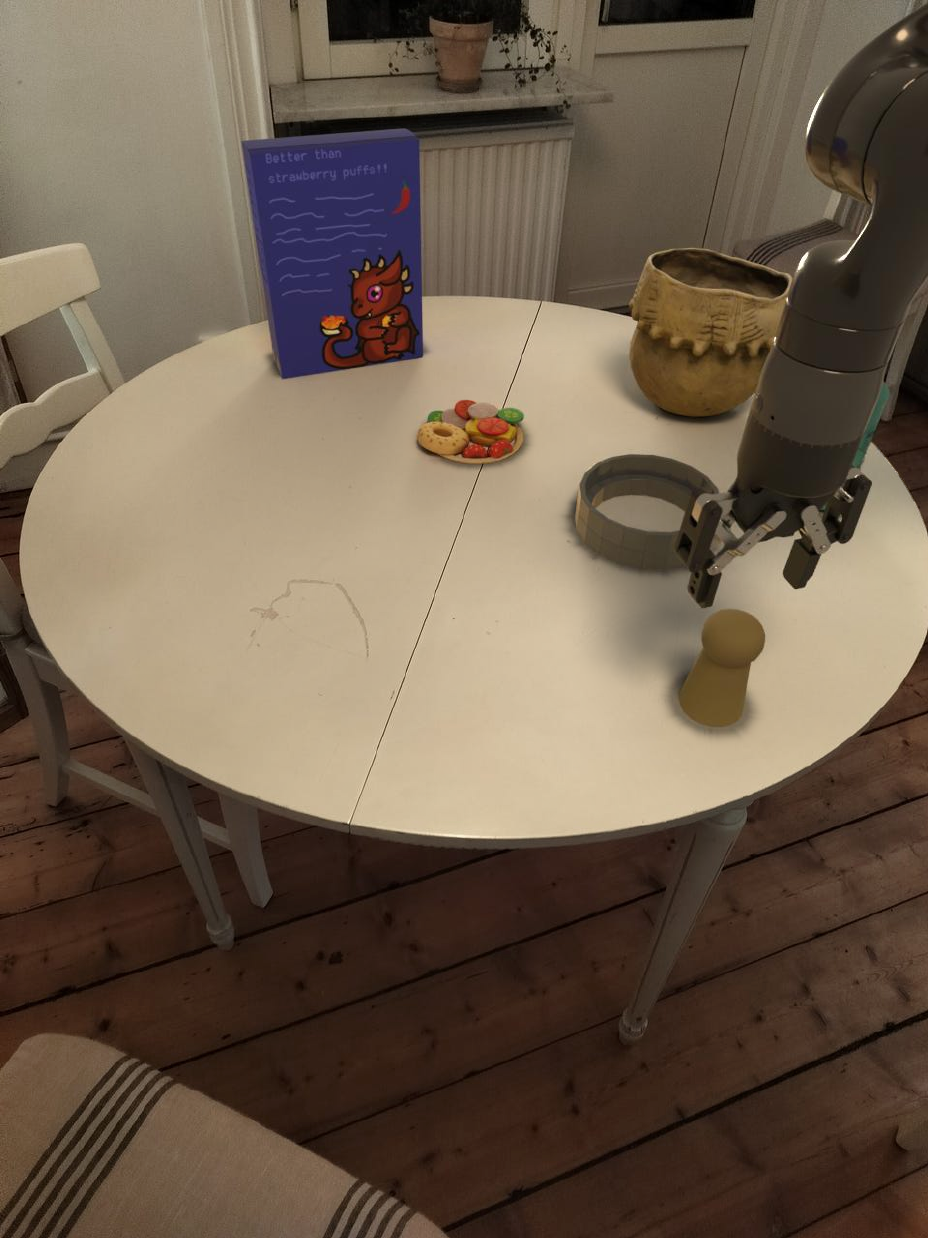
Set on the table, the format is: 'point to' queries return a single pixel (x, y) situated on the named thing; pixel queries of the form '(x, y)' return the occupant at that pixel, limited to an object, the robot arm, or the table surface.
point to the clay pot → (703, 329)
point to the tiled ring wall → (635, 479)
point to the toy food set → (472, 432)
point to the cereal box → (339, 247)
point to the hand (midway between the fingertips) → (747, 591)
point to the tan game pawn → (722, 668)
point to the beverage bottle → (871, 424)
